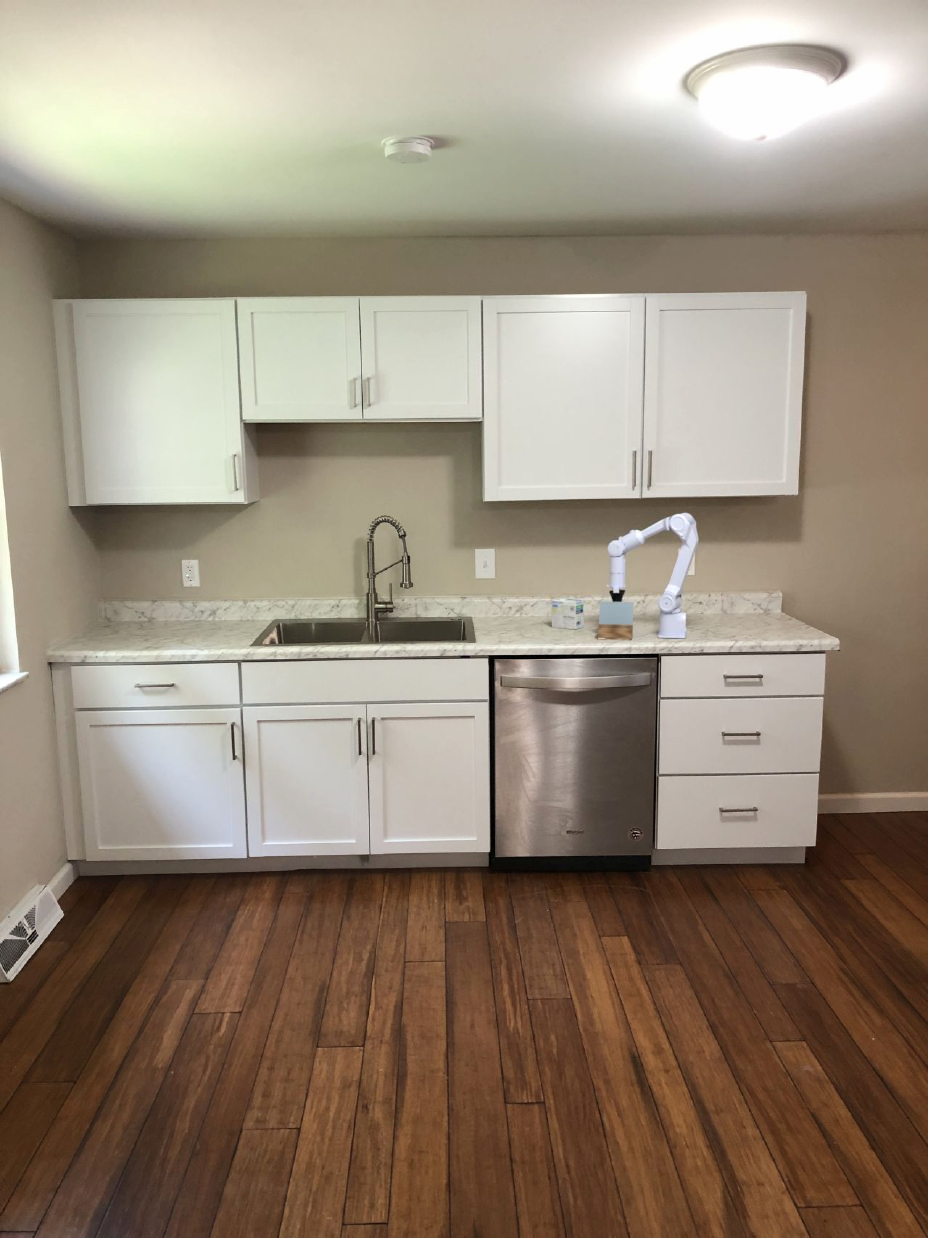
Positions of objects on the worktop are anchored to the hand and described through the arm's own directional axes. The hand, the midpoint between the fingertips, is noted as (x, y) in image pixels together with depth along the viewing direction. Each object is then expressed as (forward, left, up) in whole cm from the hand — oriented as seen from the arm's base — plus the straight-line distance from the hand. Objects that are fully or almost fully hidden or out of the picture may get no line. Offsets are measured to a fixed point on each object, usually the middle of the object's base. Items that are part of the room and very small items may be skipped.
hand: (617, 609), depth 343 cm
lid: (0, +5, 0) cm, 5 cm away
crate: (0, +11, -8) cm, 14 cm away
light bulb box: (+19, -8, -9) cm, 23 cm away
